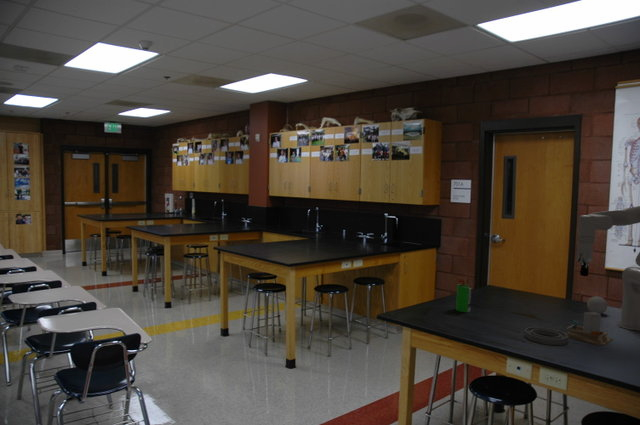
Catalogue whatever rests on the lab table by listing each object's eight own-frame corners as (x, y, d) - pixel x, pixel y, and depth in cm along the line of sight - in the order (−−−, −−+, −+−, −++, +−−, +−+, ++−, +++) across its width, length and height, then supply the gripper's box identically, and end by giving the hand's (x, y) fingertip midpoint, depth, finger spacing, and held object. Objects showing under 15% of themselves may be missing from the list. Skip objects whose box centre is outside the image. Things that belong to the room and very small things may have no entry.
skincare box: (589, 339, 219) (591, 314, 219) (582, 336, 224) (583, 312, 223) (599, 339, 221) (601, 314, 220) (592, 336, 225) (593, 311, 224)
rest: (572, 330, 235) (573, 323, 235) (612, 339, 222) (612, 332, 222) (561, 335, 225) (562, 328, 225) (602, 345, 213) (603, 338, 212)
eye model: (601, 311, 274) (602, 294, 274) (610, 316, 264) (611, 299, 264) (583, 310, 275) (584, 294, 275) (591, 315, 265) (592, 298, 264)
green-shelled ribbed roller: (472, 312, 262) (474, 281, 261) (458, 312, 263) (459, 280, 262) (467, 308, 272) (469, 277, 270) (453, 307, 272) (455, 277, 271)
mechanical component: (530, 330, 234) (531, 324, 234) (571, 339, 222) (572, 333, 222) (519, 339, 220) (519, 332, 220) (562, 348, 208) (562, 342, 208)
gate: (573, 329, 234) (574, 320, 234) (577, 330, 233) (578, 321, 232) (564, 333, 226) (565, 324, 226) (569, 334, 225) (569, 325, 225)
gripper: (583, 237, 243) (581, 272, 244) (572, 240, 232) (570, 276, 234) (599, 239, 237) (597, 275, 238) (589, 241, 227) (587, 278, 228)
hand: (584, 275), depth 236 cm, fingers closed
